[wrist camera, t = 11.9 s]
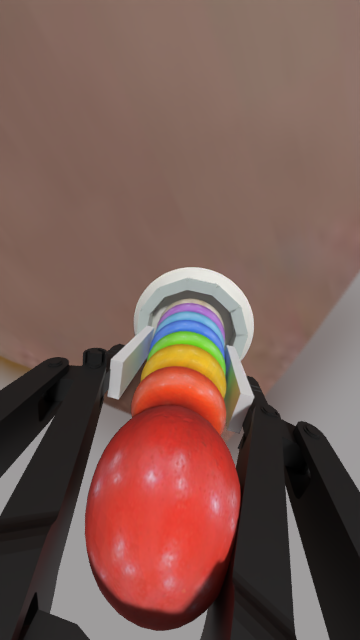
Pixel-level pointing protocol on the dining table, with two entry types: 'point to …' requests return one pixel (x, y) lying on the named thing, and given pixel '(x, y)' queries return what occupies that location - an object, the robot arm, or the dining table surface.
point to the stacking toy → (168, 481)
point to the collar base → (200, 287)
